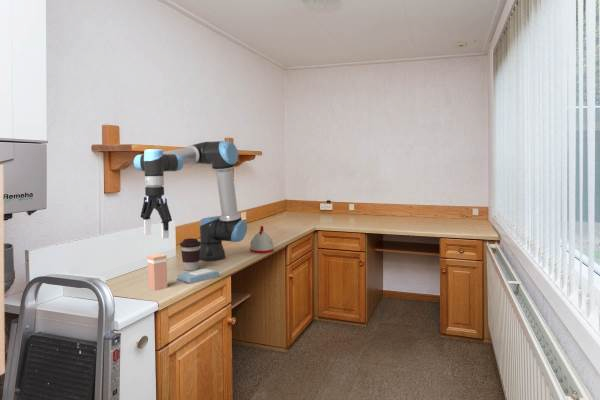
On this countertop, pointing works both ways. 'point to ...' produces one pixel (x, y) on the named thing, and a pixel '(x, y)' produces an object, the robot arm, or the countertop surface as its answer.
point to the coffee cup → (190, 254)
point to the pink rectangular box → (157, 272)
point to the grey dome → (261, 243)
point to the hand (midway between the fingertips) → (156, 236)
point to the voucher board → (197, 275)
